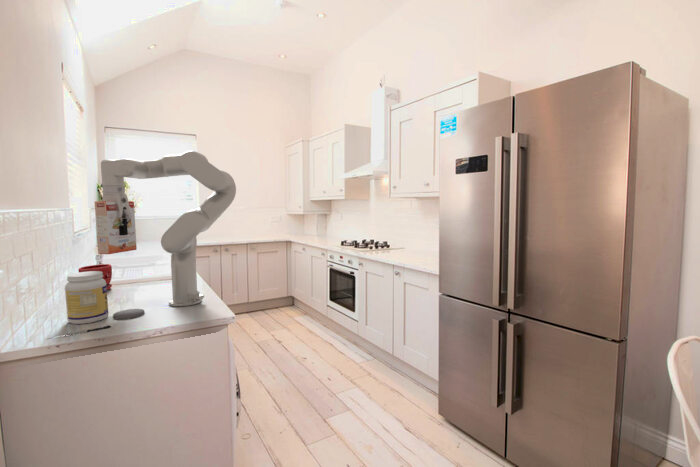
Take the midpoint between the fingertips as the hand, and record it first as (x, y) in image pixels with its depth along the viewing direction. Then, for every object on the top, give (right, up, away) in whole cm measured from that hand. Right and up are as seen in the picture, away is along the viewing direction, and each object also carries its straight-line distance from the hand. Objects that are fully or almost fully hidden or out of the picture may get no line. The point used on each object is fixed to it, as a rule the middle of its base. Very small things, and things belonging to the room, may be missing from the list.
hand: (117, 234), depth 148 cm
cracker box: (0, -7, +1) cm, 7 cm away
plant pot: (-27, -27, +27) cm, 47 cm away
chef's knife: (+6, -33, -30) cm, 45 cm away
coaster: (+12, -30, -12) cm, 35 cm away
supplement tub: (0, -31, -16) cm, 35 cm away
